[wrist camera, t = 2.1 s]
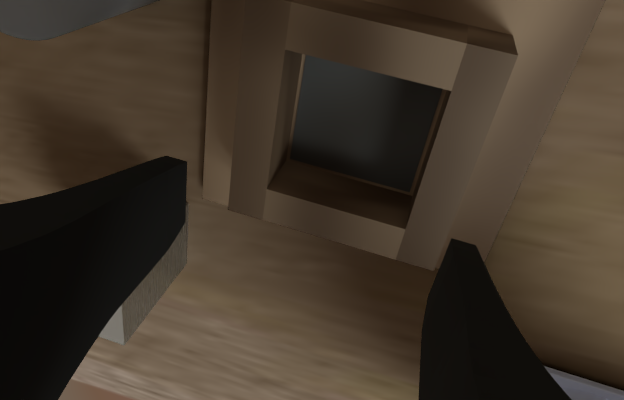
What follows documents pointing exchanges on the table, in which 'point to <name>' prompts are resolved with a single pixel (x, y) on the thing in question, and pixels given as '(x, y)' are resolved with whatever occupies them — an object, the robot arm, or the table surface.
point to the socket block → (384, 114)
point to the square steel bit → (148, 290)
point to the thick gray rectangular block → (58, 15)
